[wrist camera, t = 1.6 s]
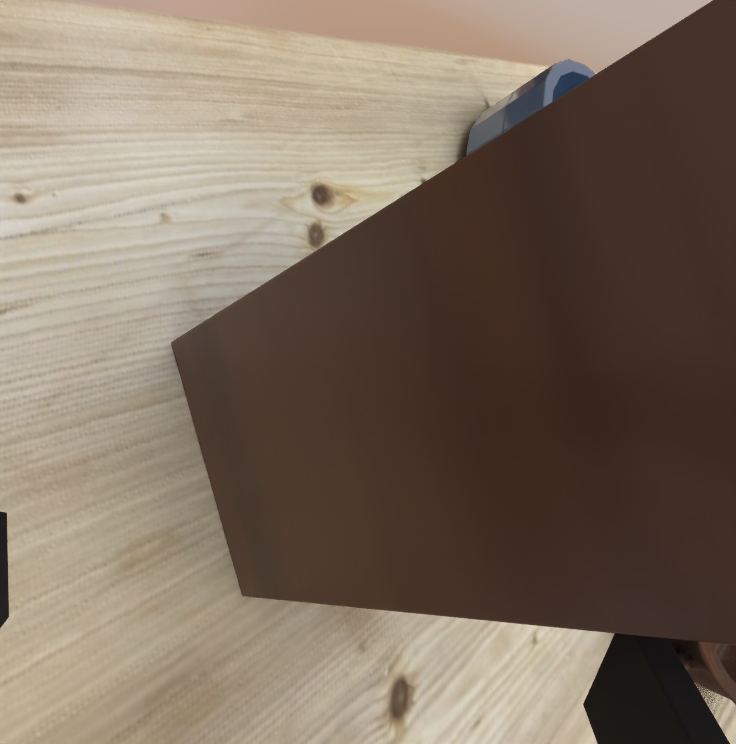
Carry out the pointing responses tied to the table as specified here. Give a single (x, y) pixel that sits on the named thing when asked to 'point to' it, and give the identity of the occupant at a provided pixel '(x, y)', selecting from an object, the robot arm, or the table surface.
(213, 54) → the table surface
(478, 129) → the bowl
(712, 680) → the dish
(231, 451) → the stand
